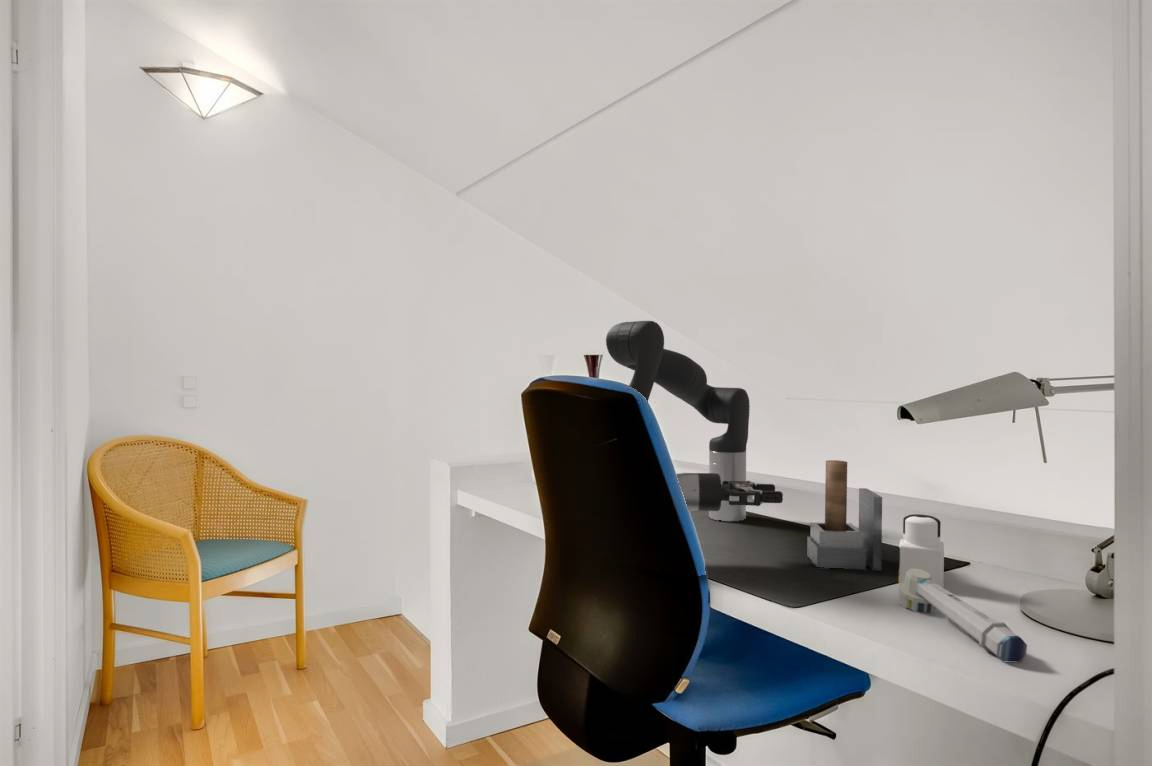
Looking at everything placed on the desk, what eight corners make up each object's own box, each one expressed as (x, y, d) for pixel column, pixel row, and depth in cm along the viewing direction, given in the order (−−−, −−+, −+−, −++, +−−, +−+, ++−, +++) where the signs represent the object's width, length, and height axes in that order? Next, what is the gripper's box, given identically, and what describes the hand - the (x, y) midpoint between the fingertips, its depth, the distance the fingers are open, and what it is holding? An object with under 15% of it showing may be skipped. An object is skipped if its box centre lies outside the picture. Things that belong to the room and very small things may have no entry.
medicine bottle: (900, 574, 136) (900, 510, 136) (942, 579, 133) (943, 514, 132) (898, 585, 129) (899, 518, 129) (943, 590, 126) (944, 521, 126)
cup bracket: (806, 555, 150) (807, 487, 149) (866, 556, 148) (866, 488, 148) (817, 568, 140) (818, 496, 139) (881, 570, 139) (882, 497, 138)
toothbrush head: (996, 636, 95) (893, 559, 120) (991, 683, 96) (890, 597, 121) (1033, 634, 96) (923, 558, 120) (1027, 681, 97) (920, 596, 121)
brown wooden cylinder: (822, 539, 146) (823, 460, 146) (843, 540, 146) (844, 460, 146) (827, 544, 142) (828, 462, 142) (848, 545, 142) (849, 463, 142)
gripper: (698, 478, 139) (785, 480, 138) (693, 468, 154) (772, 469, 152) (698, 517, 140) (785, 519, 138) (693, 503, 154) (772, 505, 152)
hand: (778, 493), depth 145 cm, fingers open, 8 cm apart
